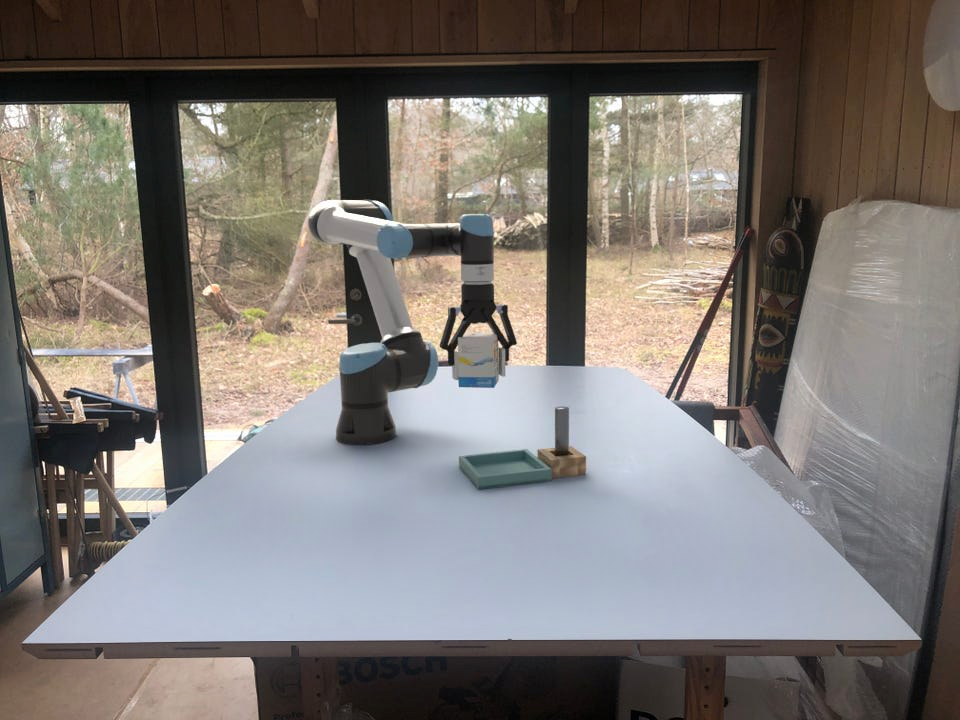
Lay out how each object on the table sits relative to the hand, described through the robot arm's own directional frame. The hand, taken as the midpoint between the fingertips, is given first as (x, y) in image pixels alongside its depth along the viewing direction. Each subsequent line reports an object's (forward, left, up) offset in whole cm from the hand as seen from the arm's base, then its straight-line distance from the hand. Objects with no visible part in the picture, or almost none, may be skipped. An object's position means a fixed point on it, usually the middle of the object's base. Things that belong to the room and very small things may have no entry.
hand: (479, 377), depth 177 cm
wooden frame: (+13, -20, -18) cm, 29 cm away
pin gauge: (+13, -20, -18) cm, 30 cm away
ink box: (0, 0, -2) cm, 2 cm away
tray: (0, -18, -18) cm, 25 cm away
